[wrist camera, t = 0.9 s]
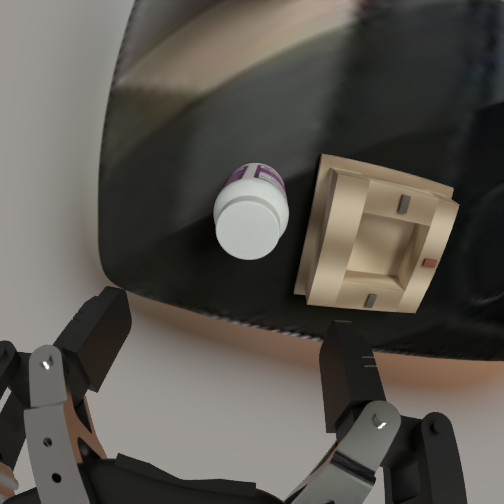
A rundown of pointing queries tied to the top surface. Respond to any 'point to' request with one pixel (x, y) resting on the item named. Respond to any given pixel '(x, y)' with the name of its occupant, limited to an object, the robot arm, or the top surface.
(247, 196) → the pill bottle
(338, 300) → the holder
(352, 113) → the top surface
